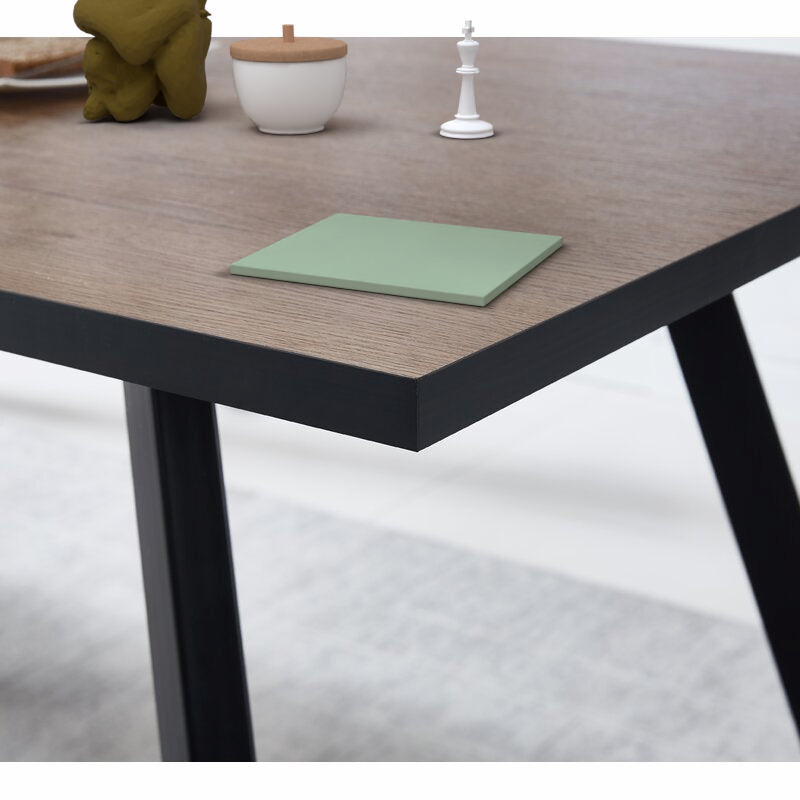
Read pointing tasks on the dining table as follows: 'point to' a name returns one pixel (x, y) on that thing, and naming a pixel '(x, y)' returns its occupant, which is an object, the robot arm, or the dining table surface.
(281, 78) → the white lidded jar
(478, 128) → the chess piece
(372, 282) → the mat
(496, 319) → the dining table surface
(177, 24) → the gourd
